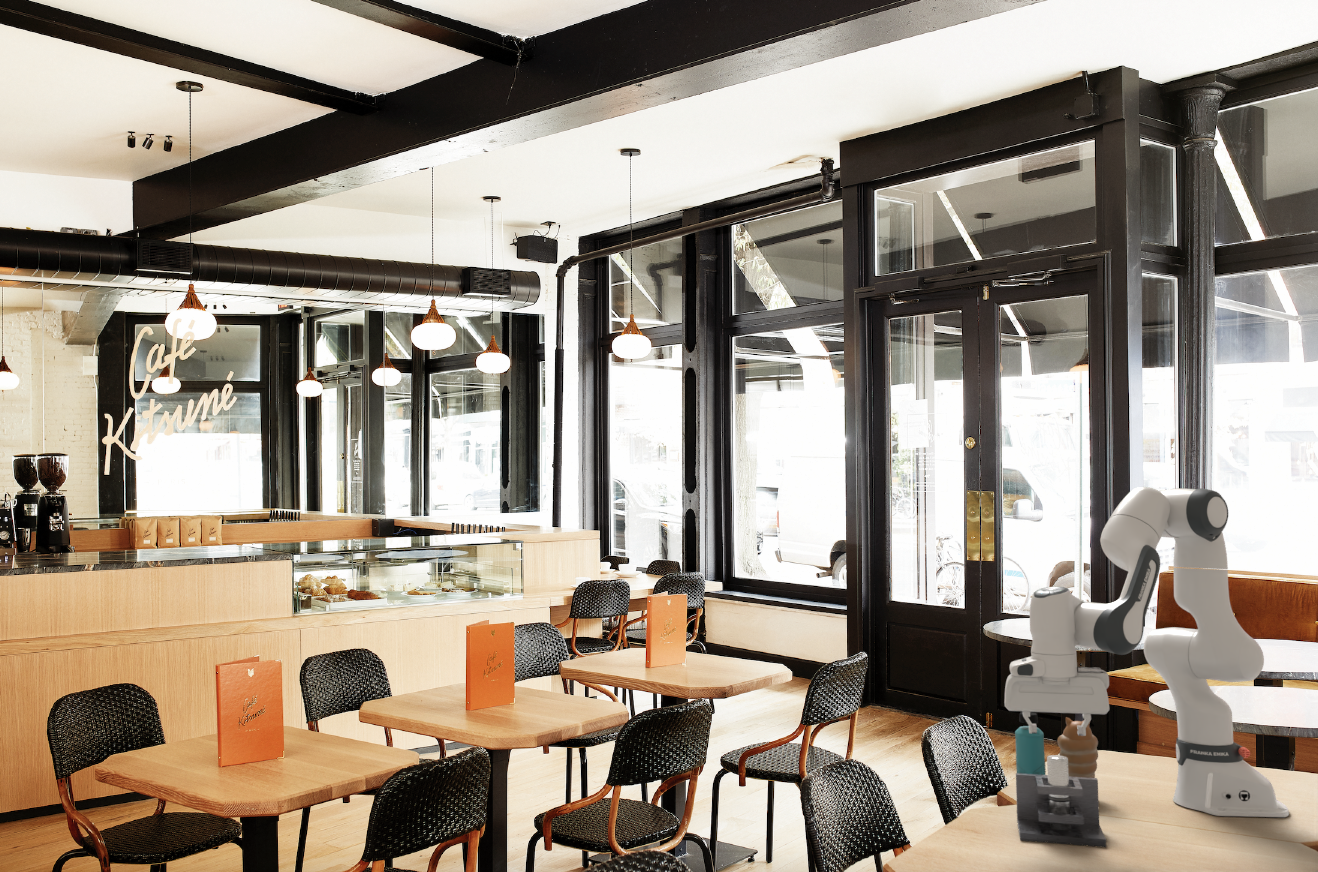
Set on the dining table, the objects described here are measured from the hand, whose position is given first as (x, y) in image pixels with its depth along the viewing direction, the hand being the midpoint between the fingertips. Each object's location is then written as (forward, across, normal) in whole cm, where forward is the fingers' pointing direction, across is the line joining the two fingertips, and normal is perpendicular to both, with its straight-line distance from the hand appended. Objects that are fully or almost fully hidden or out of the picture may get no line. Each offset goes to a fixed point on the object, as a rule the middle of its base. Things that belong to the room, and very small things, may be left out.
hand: (1057, 734), depth 210 cm
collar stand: (+20, 0, 0) cm, 20 cm away
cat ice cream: (+21, -7, -31) cm, 38 cm away
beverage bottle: (+21, +4, -24) cm, 32 cm away
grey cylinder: (+19, 0, 0) cm, 19 cm away
